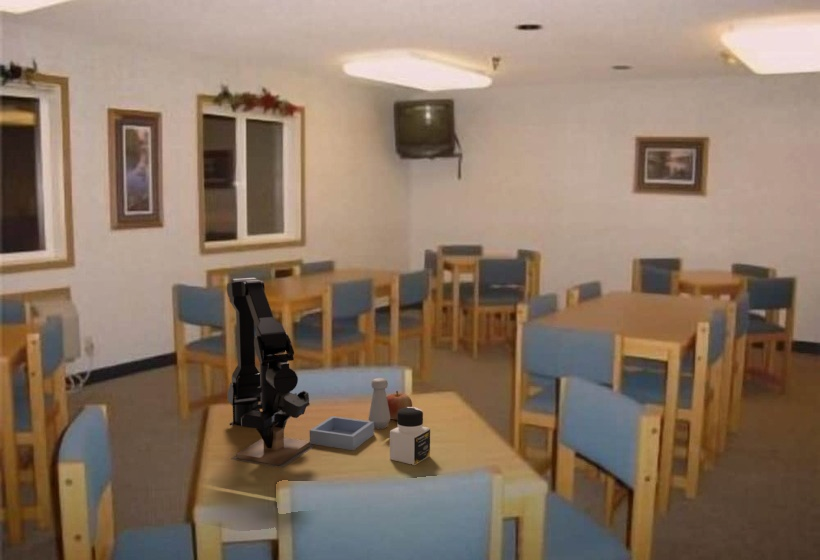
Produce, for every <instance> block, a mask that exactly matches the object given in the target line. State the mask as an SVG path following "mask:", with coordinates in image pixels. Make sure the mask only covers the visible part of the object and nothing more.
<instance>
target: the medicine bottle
mask: <svg viewBox="0 0 820 560" xmlns="http://www.w3.org/2000/svg"><path fill="white" fill-rule="evenodd" d="M396 421H397V424H396V425H397V427H395V428H393V429H391V430H390V431H389V460H392V461H396V462H399V463H404V464H409V465H411V464H412V466H416V465H417V464H419V463H421V462H423V461H424V460H426V459H427V458H429V457H430V455H431V428H430V427H428V426H427V427H426V426H424V412H423V410H422V409H420V408H418V407H415V406H414V407H413V406H412V407H405V408H402V409H400V410H399V411H398V412H397V420H396Z"/></svg>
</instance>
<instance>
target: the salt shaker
mask: <svg viewBox="0 0 820 560" xmlns="http://www.w3.org/2000/svg"><path fill="white" fill-rule="evenodd" d="M388 383H389V382H388V380H387V378H383V377H376V378H374V379H372V380H371V383H370V384H371V387H372V389H373V391H372V395H371V397H372V398H371V402H370V407H369V413H368V421H372V422H374V429H376V428H377V429H378V430H379V429H380V430H383V429H386V427H388V425H389V423H390V421H391V417H390V412H389V407H388V402H387V391H386V389H387V388H388V385H389V384H388ZM382 428H383V429H382Z"/></svg>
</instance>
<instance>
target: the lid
mask: <svg viewBox="0 0 820 560" xmlns="http://www.w3.org/2000/svg"><path fill="white" fill-rule="evenodd" d="M310 445H311V444H310V440H303V439H297V438H291V437H285V428H280V427H274V430H273V443H272V448H267V446H266V445H265V443H264V441H263V439H262V438H261V439H259V440H257V441H256V442H254V443H252V444H250V445H248V446H247V447H245V448H243V449H241V450H240V451H238V452H236V453H235V456H236V458H240V459H246V460H252V461H258V462H264V463H269V464H275V465H281V464H283V463H284V462H286V461H287V460H289V459H290V458H292V457H294V456H295V455H297V454H298V453H300V452H301V451H303V450H304V449H306V448H307V447H309V446H310Z"/></svg>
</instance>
